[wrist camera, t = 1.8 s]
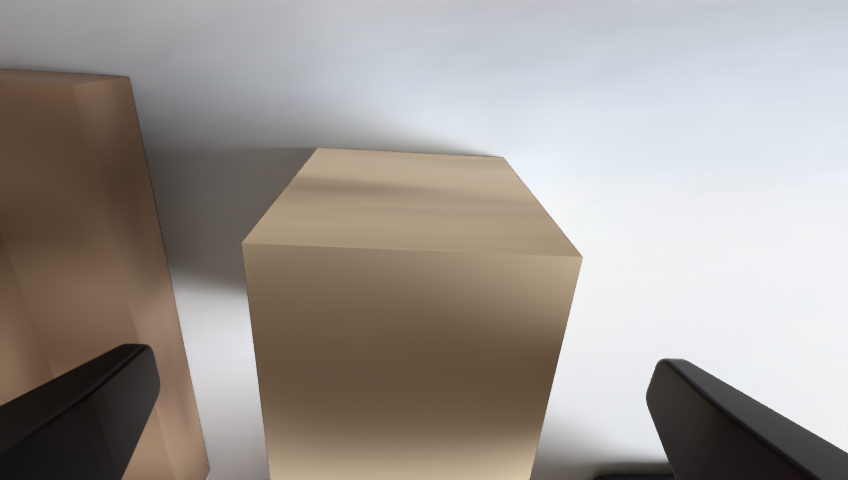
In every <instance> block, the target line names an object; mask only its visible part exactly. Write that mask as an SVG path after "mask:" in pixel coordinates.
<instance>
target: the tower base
mask: <svg viewBox="0 0 848 480" xmlns="http://www.w3.org/2000/svg"><path fill="white" fill-rule="evenodd" d="M126 343H135V344H148V345H150V346H151V347H152V348H153V351H154V354H155V358H156V362H157V366H158V370H159V375H160V379H161V390H160V394H159V396H158V399H157V401H156V403H155V406H154V408H153V410H152V412H151V415H150V417H149V419H148V422H147V424H146V426H145V428H144V431H143V433H142V435H141V437H140V440H139V442H138V444H137V447H136V449H135V451H134V453H133V456H132V458H131V460H130V463H129V465H128V467H127V469H126V471H125V473H124V476H123V478H122V480H206V477H207V475H208V473H209V471H210V469H209V464H208V459H207V455H206V450H205V445H204V440H203V435H202V430H201V425H200V420H199V416H198V411H197V406H196V401H195V396H194V391H193V386H192V381H191V377H190V372H189V367H188V362H187V357H186V352H185V347H184V342H183V338H182V333H181V328H180V323H179V318H178V313H177V308H176V303H175V299H174V294H173V289H172V284H171V279H170V274H169V269H168V264H167V260H166V255H165V250H164V245H163V240H162V235H161V230H160V225H159V221H158V216H157V211H156V206H155V201H154V196H153V191H152V186H151V182H150V177H149V172H148V167H147V162H146V157H145V152H144V147H143V143H142V138H141V133H140V128H139V123H138V118H137V113H136V108H135V104H134V99H133V94H132V89H131V84H130V79H129V77H123V76H107V75H91V74H75V73H59V72H42V71H26V70H10V69H0V406H1V405H3V404H5V403H7V402H9V401H11V400H13V399H15V398H17V397H19V396H21V395H23V394H25V393H27V392H29V391H31V390H33V389H34V388H36V387H38V386H40V385H42V384H44V383H46V382H48V381H50V380H52V379H54V378H56V377H58V376H60V375H62V374H64V373H66V372H68V371H70V370H72V369H74V368H76V367H78V366H80V365H82V364H84V363H86V362H88V361H90V360H92V359H94V358H96V357H98V356H100V355H102V354H104V353H106V352H108V351H110V350H111V349H113V348H115V347H117V346H119V345H122V344H126Z"/></svg>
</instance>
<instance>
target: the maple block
mask: <svg viewBox="0 0 848 480" xmlns="http://www.w3.org/2000/svg"><path fill="white" fill-rule="evenodd" d="M241 246H242V254H243V262H244V270H245V278H246V286H247V294H248V302H249V311H250V319H251V327H252V335H253V343H254V351H255V359H256V367H257V375H258V383H259V392H260V400H261V408H262V416H263V424H264V432H265V440H266V448H267V456H268V465H269V473H270V480H529V479H530V475H531V471H532V467H533V463H534V459H535V454H536V450H537V446H538V442H539V438H540V434H541V429H542V425H543V421H544V417H545V413H546V409H547V404H548V400H549V396H550V392H551V388H552V384H553V379H554V375H555V371H556V367H557V363H558V359H559V354H560V350H561V346H562V342H563V338H564V334H565V329H566V325H567V321H568V317H569V313H570V309H571V304H572V300H573V296H574V292H575V288H576V284H577V279H578V275H579V271H580V267H581V263H582V259H583V257H582V256H581V254H580V253H579V252H578V250H577V249H576V248H575V247H574V245H573V244H572V243H571V242H570V240H569V239H568V238H567V237H566V235H565V234H564V233H563V232H562V230H561V229H560V228H559V227H558V225H557V224H556V223H555V222H554V220H553V219H552V218H551V216H550V215H549V214H548V213H547V211H546V210H545V209H544V208H543V206H542V205H541V204H540V203H539V201H538V200H537V199H536V198H535V196H534V195H533V194H532V193H531V191H530V190H529V189H528V188H527V186H526V185H525V184H524V183H523V181H522V180H521V179H520V177H519V176H518V175H517V174H516V172H515V171H514V170H513V169H512V167H511V166H510V165H509V164H508V162H507V161H506V160H505V159H504V157H485V156H466V155H448V154H429V153H410V152H391V151H373V150H354V149H335V148H317V149H316V151H315V152H314V153H313V154H312V156H311V157H310V158H309V159H308V161H307V162H306V163H305V164H304V166H303V167H302V168H301V169H300V171H299V172H298V173H297V174H296V176H295V177H294V178H293V179H292V181H291V182H290V183H289V184H288V186H287V187H286V188H285V189H284V190H283V192H282V193H281V194H280V195H279V197H278V198H277V199H276V200H275V202H274V203H273V204H272V205H271V207H270V208H269V209H268V210H267V212H266V213H265V214H264V215H263V217H262V218H261V219H260V220H259V222H258V223H257V224H256V225H255V227H254V228H253V229H252V230H251V232H250V233H249V234H248V235H247V237H246V238H245V239H244V240H243V242H242V243H241Z"/></svg>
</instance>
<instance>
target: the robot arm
mask: <svg viewBox="0 0 848 480" xmlns="http://www.w3.org/2000/svg"><path fill="white" fill-rule="evenodd" d="M160 390H161V379H160V375H159V370H158V366H157V362H156V358H155V354H154V351H153V348H152V347H151V346H150V345H148V344H135V343H126V344H122V345H119V346H117V347H115V348H113V349H111V350H110V351H108V352H106V353H104V354H102V355H100V356H98V357H96V358H94V359H92V360H90V361H88V362H86V363H84V364H82V365H80V366H78V367H76V368H74V369H72V370H70V371H68V372H66V373H64V374H62V375H60V376H58V377H56V378H54V379H52V380H50V381H48V382H46V383H44V384H42V385H40V386H38V387H36V388H34V389H33V390H31V391H29V392H27V393H25V394H23V395H21V396H19V397H17V398H15V399H13V400H11V401H9V402H7V403H5V404H3V405H1V406H0V480H122V478H123V476H124V473H125V471H126V469H127V467H128V465H129V463H130V460H131V458H132V456H133V453H134V451H135V449H136V447H137V444H138V442H139V440H140V437H141V435H142V433H143V431H144V428H145V426H146V424H147V422H148V419H149V417H150V415H151V412H152V410H153V408H154V406H155V403H156V401H157V399H158V396H159V394H160ZM646 401H647V406H648V409H649V411H650V414H651V417H652V419H653V422H654V425H655V427H656V430H657V432H658V435H659V438H660V440H661V443H662V445H663V448H664V451H665V453H666V456H667V458H668V461H669V464H670V466H671V469H672V472H673V474H674V476H660V475H601V476H599V477H596V478H595V479H594V480H848V453H847V452H845V451H843V450H841V449H840V448H838V447H836V446H835V445H833V444H831V443H829V442H828V441H826V440H824V439H822V438H821V437H819V436H817V435H815V434H814V433H812V432H810V431H808V430H807V429H805V428H803V427H801V426H800V425H798V424H796V423H795V422H793V421H791V420H789V419H788V418H786V417H784V416H782V415H781V414H779V413H777V412H775V411H774V410H772V409H770V408H768V407H767V406H765V405H763V404H761V403H760V402H758V401H756V400H755V399H753V398H751V397H749V396H748V395H746V394H744V393H742V392H741V391H739V390H737V389H735V388H734V387H732V386H730V385H728V384H727V383H725V382H723V381H721V380H720V379H718V378H716V377H715V376H713V375H711V374H709V373H708V372H706V371H704V370H702V369H701V368H699V367H697V366H695V365H694V364H692V363H690V362H688V361H686V360H684V359H667V358H665V359H661V360H660V361H659V362H658V363H657V365H656V367H655V370H654V373H653V376H652V378H651V381H650V384H649V387H648V389H647V393H646Z"/></svg>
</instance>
